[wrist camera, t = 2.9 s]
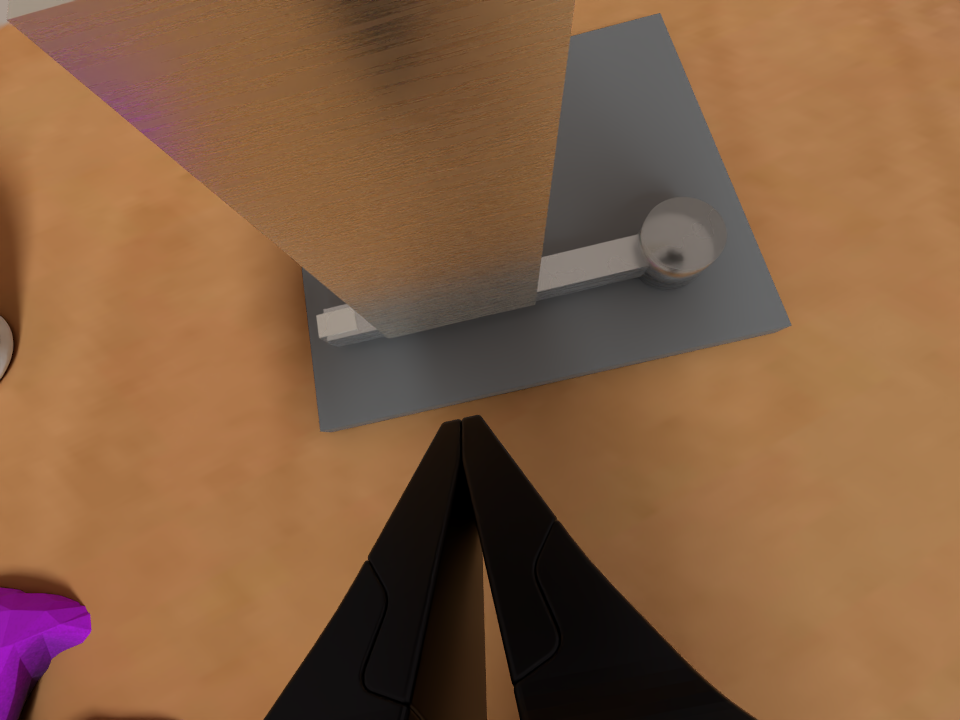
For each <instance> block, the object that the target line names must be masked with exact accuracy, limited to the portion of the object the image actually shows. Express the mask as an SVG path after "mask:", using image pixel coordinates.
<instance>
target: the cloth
mask: <svg viewBox="0 0 960 720" xmlns="http://www.w3.org/2000/svg"><path fill="white" fill-rule="evenodd" d="M90 632H91V620H90V614H89V613H88V612H87V610H86V607H85V606H82V605H80V604H79V603H78V602H76V601H74V600H71V599H69V598H66V597H63V596H60V595H53V594H45V593H25V592H23V591H21V590H17V589H9V588H0V720H18V719H19V716H20V714H21V711H22V709H23V707H24V704H25V701H26V699H27V697H28V696H29V694H30V693H31V691H32V689H33V688H34V686H35V685H36V683H37V682H38V680H39V679H40V678H41V677H42V675H43V674H44V673H45V672H46V670H47V669H48V667H49V665H50V662H51V660H52V658H54V657H55V656H56V655H58V654H59V653H60V652H62V651H64V650H66V649H69V648H71V647H73V646H76V645H78V644H80V643H83V641H84V640H85V639H86V638H87V636H88V635H89V634H90Z"/></svg>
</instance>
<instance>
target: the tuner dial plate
mask: <svg viewBox="0 0 960 720" xmlns="http://www.w3.org/2000/svg"><path fill="white" fill-rule="evenodd" d="M676 197H690V198H695V199H699V200H701V201H704V202H705V203H707V204H709V205H710V206H712V207H713V208H714V209H715V210H716V211H717V212H718V213H719V214H720V215H721V217H722V218H723V221H724V223H725V226H726V230H727V240H726V244H725V247H724V249H723V251H722V252H721V254H720V255H719V256H718V257H717V258H716V259H715V260H714V261H713V262H712V263H711V264H710V265H709V266H708V267H707V268H706V269H705V270H704V271H703V272H702V273H700V274H699V275H698V276H697V277H696V278H695V279H694V280H693V281H692V282H691V283H689V284H688V285H686V286H684V287H682V288H679V289H675V290H660V289H655V288H652V287H650V286H648V285H646V284H645V283H643V282H642V281H641V280H639V279H638V278H637V277H636V278H632V279H628V280H624V281H619V282H615V283H611V284H607V285H602V286H598V287H594V288H589V289H585V290H581V291H577V292H572V293H568V294H564V295H560V296H555V297H551V298H547V299H542V300H538V301H536V304H535V305H531V306H527V307H523V308H519V309H514V310H510V311H506V312H502V313H497V314H493V315H489V316H484V317H480V318H476V319H472V320H467V321H463V322H459V323H455V324H450V325H446V326H442V327H437V328H433V329H429V330H425V331H420V332H416V333H412V334H407V335H403V336H399V337H395V338H390V339H388V338H387V337H386V336H385V337H380V338H376V339H372V340H367V341H363V342H359V343H355V344H350V345H346V346H342V347H337V346H335V345H331V344H329V343H327V342H325V341H324V340H322V339H320V338H319V334H318V325H317V317H316V315H319V314H323V313H324V311H323V309H327V308H332V307H336V306H340V305H344V304H346V303H345V302H344V301H342V300H341V299H340V298H339V297H338V296H337V295H335V294H334V293H333V292H332V291H331V290H329V289H328V288H327V287H326V286H325V285H323V284H322V283H321V282H320V281H319V280H317V279H316V278H315V277H314V276H313V275H311V274H310V273H309V272H308V271H307V270H305V269H304V268H303V267H302V274H303V283H304V292H305V301H306V309H307V318H308V327H309V336H310V344H311V353H312V362H313V371H314V379H315V388H316V397H317V406H318V414H319V423H320V431H322V432H334V431H339V430H343V429H348V428H352V427H357V426H361V425H366V424H370V423H375V422H379V421H383V420H388V419H392V418H397V417H401V416H406V415H410V414H415V413H419V412H424V411H428V410H432V409H437V408H441V407H446V406H450V405H455V404H459V403H464V402H468V401H472V400H477V399H481V398H486V397H490V396H495V395H499V394H504V393H508V392H513V391H517V390H521V389H526V388H530V387H535V386H539V385H544V384H548V383H553V382H557V381H561V380H566V379H570V378H575V377H579V376H584V375H588V374H593V373H597V372H602V371H606V370H610V369H615V368H619V367H624V366H628V365H633V364H637V363H642V362H646V361H651V360H655V359H659V358H664V357H668V356H673V355H677V354H682V353H686V352H691V351H695V350H699V349H704V348H708V347H713V346H717V345H722V344H726V343H731V342H735V341H740V340H744V339H748V338H753V337H757V336H762V335H766V334H771V333H775V332H778V331H780V330H782V329H784V328H787V327H789V326H791V323H790V320H789V318H788V316H787V313H786V311H785V309H784V306H783V304H782V301H781V299H780V297H779V294H778V292H777V290H776V287H775V285H774V282H773V280H772V278H771V275H770V273H769V271H768V268H767V266H766V263H765V261H764V259H763V256H762V254H761V252H760V249H759V247H758V244H757V242H756V240H755V237H754V235H753V233H752V230H751V228H750V225H749V223H748V221H747V218H746V216H745V214H744V211H743V209H742V206H741V204H740V202H739V199H738V197H737V195H736V192H735V190H734V187H733V185H732V183H731V180H730V178H729V176H728V173H727V171H726V168H725V166H724V164H723V161H722V159H721V157H720V154H719V152H718V150H717V147H716V145H715V142H714V140H713V138H712V135H711V133H710V131H709V128H708V126H707V123H706V121H705V119H704V116H703V114H702V112H701V109H700V107H699V104H698V102H697V100H696V97H695V95H694V93H693V90H692V88H691V85H690V83H689V81H688V78H687V76H686V74H685V71H684V69H683V66H682V64H681V62H680V59H679V57H678V55H677V52H676V50H675V47H674V45H673V43H672V40H671V38H670V36H669V33H668V31H667V28H666V26H665V24H664V21H663V19H662V17H661V14H660V13H659V14H655V15H651V16H647V17H643V18H640V19H636V20H632V21H628V22H624V23H621V24H617V25H613V26H609V27H605V28H601V29H598V30H594V31H590V32H586V33H582V34H579V35H575V36H571V37H570V43H569V51H568V59H567V66H566V74H565V82H564V89H563V97H562V105H561V112H560V120H559V128H558V135H557V143H556V151H555V158H554V166H553V174H552V181H551V189H550V197H549V204H548V212H547V220H546V227H545V235H544V243H543V250H542V257H545V256H549V255H553V254H558V253H562V252H566V251H570V250H574V249H578V248H583V247H587V246H591V245H595V244H599V243H604V242H608V241H612V240H616V239H620V238H625V237H629V236H633V235H637V233H638V232H639V230H640V228H641V226H642V225H643V223H644V221H645V219H646V218H647V216H648V214H649V213H650V211H651V210H652V209H653V208H654V207H655V206H657V205H658V204H659V203H661V202H663V201H665V200H668V199H671V198H676Z"/></svg>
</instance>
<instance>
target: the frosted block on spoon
mask: <svg viewBox="0 0 960 720" xmlns="http://www.w3.org/2000/svg"><path fill="white" fill-rule="evenodd" d="M574 5H575V0H9V2H8V12H7V21H9V22H10V23H11V24H12V25H13V26H15V27H16V28H17V29H18V30H19V31H21V32H22V33H23V34H24V35H25V36H27V37H28V38H29V39H30V40H31V41H33V42H34V43H35V44H36V45H37V46H39V47H40V48H41V49H42V50H43V51H45V52H46V53H47V54H48V55H49V56H51V57H52V58H53V59H54V60H55V61H57V62H58V63H59V64H60V65H61V66H63V67H64V68H65V69H66V70H67V71H69V72H70V73H71V74H72V75H73V76H74V77H76V78H77V79H78V80H79V81H80V82H82V83H83V84H84V85H85V86H86V87H88V88H89V89H90V90H91V91H92V92H94V93H95V94H96V95H97V96H98V97H100V98H101V99H102V100H103V101H104V102H106V103H107V104H108V105H109V106H110V107H112V108H113V109H114V110H115V111H116V112H118V113H119V114H120V115H121V116H122V117H124V118H125V119H126V120H127V121H128V122H130V123H131V124H132V125H133V126H134V127H136V128H137V129H138V130H139V131H140V132H141V133H143V134H144V135H145V136H146V137H147V138H149V139H150V140H151V141H152V142H153V143H155V144H156V145H157V146H158V147H159V148H161V149H162V150H163V151H164V152H165V153H167V154H168V155H169V156H170V157H171V158H173V159H174V160H175V161H176V162H177V163H179V164H180V165H181V166H182V167H183V168H185V169H186V170H187V171H188V172H189V173H191V174H192V175H193V176H194V177H195V178H197V179H198V180H199V181H200V182H201V183H203V184H204V185H205V186H206V187H207V188H208V189H210V190H211V191H212V192H213V193H214V194H216V195H217V196H218V197H219V198H220V199H222V200H223V201H224V202H225V203H226V204H228V205H229V206H230V207H231V208H232V209H234V210H235V211H236V212H237V213H238V214H240V215H241V216H242V217H243V218H244V219H246V220H247V221H248V222H249V223H250V224H252V225H253V226H254V227H255V228H256V229H258V230H259V231H260V232H261V233H262V234H264V235H265V236H266V237H267V238H268V239H270V240H271V241H272V242H273V243H274V244H275V245H277V246H278V247H279V248H280V249H281V250H283V251H284V252H285V253H286V254H287V255H289V256H290V257H291V258H292V259H293V260H295V261H296V262H297V263H298V264H299V265H301V266H302V267H303V268H304V269H305V270H307V271H308V272H309V273H310V274H311V275H313V276H314V277H315V278H316V279H317V280H319V281H320V282H321V283H322V284H323V285H325V286H326V287H327V288H328V289H329V290H331V291H332V292H333V293H334V294H335V295H337V296H338V297H339V298H340V299H341V300H342V301H344V302H345V303H346V304H344V305H340V306H336V307H332V308H327V309H323V311H324V313H323V314H319V315H316V317H317V325H318V334H319V338H320V339H322V340H324V341H325V342H327V343H329V344H331V345H335V346H337V347H342V346H346V345H350V344H355V343H359V342H363V341H367V340H372V339H376V338H380V337H385V336H386V337H387V338H388V339H390V338H395V337H399V336H403V335H407V334H412V333H416V332H420V331H425V330H429V329H433V328H437V327H442V326H446V325H450V324H455V323H459V322H463V321H467V320H472V319H476V318H480V317H484V316H489V315H493V314H497V313H502V312H506V311H510V310H514V309H519V308H523V307H527V306H531V305H535V304H536V301H538V300H542V299H547V298H551V297H555V296H560V295H564V294H568V293H572V292H577V291H581V290H585V289H589V288H594V287H598V286H602V285H607V284H611V283H615V282H619V281H624V280H628V279H632V278H636V277H637V278H638V279H639V280H641V281H642V282H643V283H645V284H646V285H648V286H650V287H652V288H655V289H660V290H675V289H679V288H682V287H684V286H686V285H688V284H689V283H691V282H692V281H693V280H694V279H695V278H696V277H697V276H698V275H699V274H700V273H702V272H703V271H704V270H705V269H706V268H707V267H708V266H709V265H710V264H711V263H712V262H713V261H714V260H715V259H716V258H717V257H718V256H719V255H720V254H721V252H722V251H723V249H724V247H725V244H726V240H727V230H726V226H725V223H724V221H723V218H722V217H721V215H720V214H719V213H718V212H717V211H716V210H715V209H714V208H713V207H712V206H710V205H709V204H707V203H705V202H704V201H701V200H699V199H695V198H690V197H676V198H671V199H668V200H665V201H663V202H661V203H659V204H658V205H657V206H655V207H654V208H653V209H652V210H651V211H650V213H649V214H648V216H647V218H646V219H645V221H644V223H643V225H642V226H641V228H640V230H639V232H638V233H637V235H633V236H629V237H625V238H620V239H616V240H612V241H608V242H604V243H599V244H595V245H591V246H587V247H583V248H578V249H574V250H570V251H566V252H562V253H558V254H553V255H549V256H545V257H542V250H543V243H544V235H545V227H546V220H547V212H548V204H549V197H550V189H551V181H552V174H553V166H554V158H555V151H556V143H557V135H558V128H559V120H560V112H561V105H562V97H563V89H564V82H565V74H566V66H567V59H568V51H569V43H570V36H571V28H572V20H573V13H574Z"/></svg>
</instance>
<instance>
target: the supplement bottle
mask: <svg viewBox="0 0 960 720" xmlns="http://www.w3.org/2000/svg"><path fill="white" fill-rule="evenodd" d="M12 353H13V337H12V332H11V329H10V327H9V325H8V324H7V322H6V321H5V320H4V319H3V318H2V317H1V316H0V379H1V378H2V376H3V374H4V373H5V371H6V369H7V367H8V365H9V362H10V360H11V357H12Z"/></svg>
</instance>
